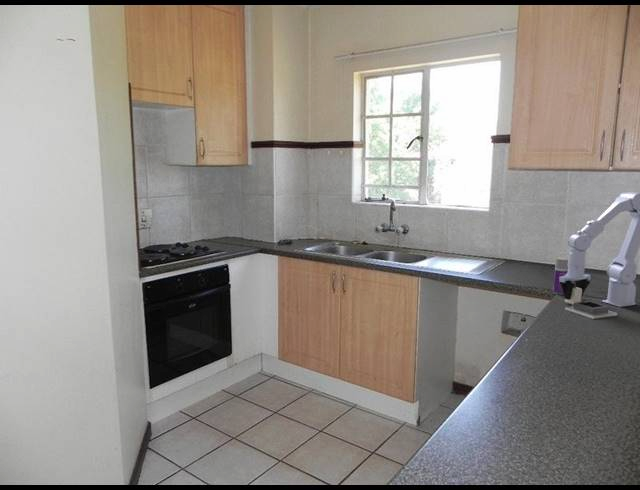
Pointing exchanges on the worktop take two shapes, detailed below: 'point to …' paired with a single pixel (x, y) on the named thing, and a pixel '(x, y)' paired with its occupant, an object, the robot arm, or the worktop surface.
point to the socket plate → (591, 309)
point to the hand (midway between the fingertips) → (573, 298)
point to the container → (559, 274)
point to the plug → (575, 295)
